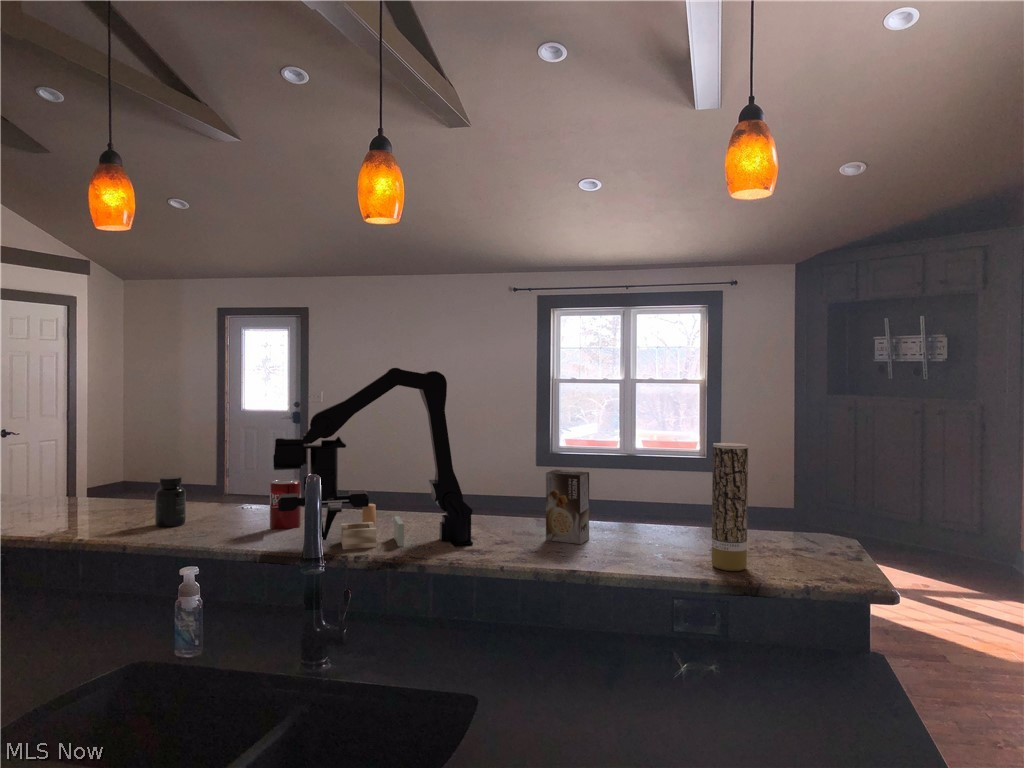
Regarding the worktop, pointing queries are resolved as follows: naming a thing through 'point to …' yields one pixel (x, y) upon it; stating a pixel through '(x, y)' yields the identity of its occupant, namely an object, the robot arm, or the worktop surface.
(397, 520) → the track board
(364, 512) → the dowel
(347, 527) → the pine block
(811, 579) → the worktop surface
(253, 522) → the worktop surface
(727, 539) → the paper tube
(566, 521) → the coffee box
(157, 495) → the supplement bottle
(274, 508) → the soda can
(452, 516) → the robot arm
